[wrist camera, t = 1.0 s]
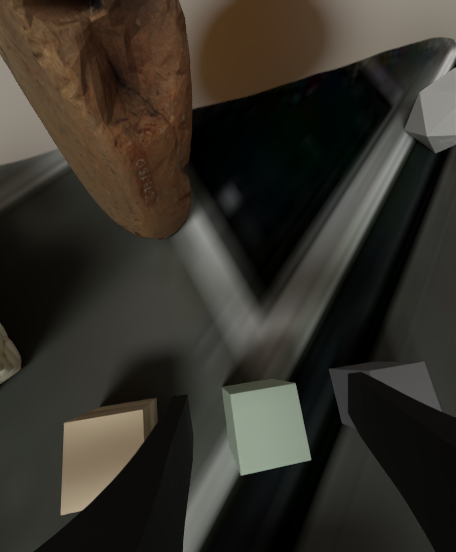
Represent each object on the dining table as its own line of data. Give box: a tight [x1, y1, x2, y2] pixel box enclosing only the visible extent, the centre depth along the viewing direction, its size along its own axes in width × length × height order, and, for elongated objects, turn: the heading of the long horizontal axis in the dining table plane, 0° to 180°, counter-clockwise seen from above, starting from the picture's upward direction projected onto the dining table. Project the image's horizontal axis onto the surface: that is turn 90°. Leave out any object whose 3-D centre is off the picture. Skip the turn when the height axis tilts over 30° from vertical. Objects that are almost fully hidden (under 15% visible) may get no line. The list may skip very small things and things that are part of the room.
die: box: [404, 68, 456, 153], centre depth 32 cm, size 8×9×10 cm
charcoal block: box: [329, 361, 442, 429], centre depth 21 cm, size 4×4×6 cm
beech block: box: [61, 398, 158, 515], centre depth 18 cm, size 4×4×6 cm
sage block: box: [222, 379, 311, 475], centre depth 20 cm, size 4×4×6 cm
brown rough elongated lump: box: [0, 0, 192, 240], centre depth 18 cm, size 11×8×20 cm
